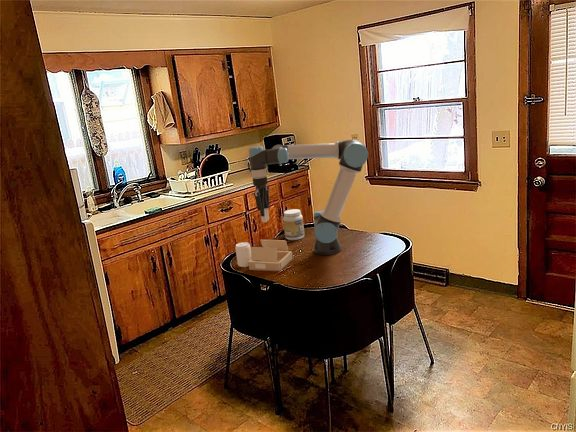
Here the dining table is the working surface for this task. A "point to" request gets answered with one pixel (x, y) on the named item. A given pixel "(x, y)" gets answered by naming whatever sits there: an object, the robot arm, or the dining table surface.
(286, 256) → the carton
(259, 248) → the front flap
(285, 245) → the back flap
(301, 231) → the supplement tub
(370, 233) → the dining table surface
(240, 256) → the beverage can
